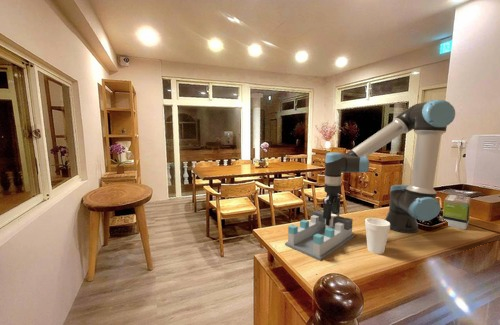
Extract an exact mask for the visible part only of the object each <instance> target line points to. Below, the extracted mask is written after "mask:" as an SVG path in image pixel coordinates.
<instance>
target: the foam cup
mask: <svg viewBox="0 0 500 325" xmlns="http://www.w3.org/2000/svg"><path fill="white" fill-rule="evenodd" d="M364 221H365V222H364V226H365V234H366V235H365V236H366V245H367V246H366V247H367V251H368V252H370V253H372V254H375V255H383V254H385V249H386V246H387V243H388V242H387V241H388V237H389V232H390V230H391V229H390V222H388V221H386V220H385V219H383V218H378V217H367V218H365V219H364Z"/></svg>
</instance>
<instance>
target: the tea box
mask: <svg viewBox="0 0 500 325" xmlns="http://www.w3.org/2000/svg"><path fill="white" fill-rule="evenodd" d="M471 201H472V198H471V197H470V196H462V195H455V194H454V195H453V194H448V195H447V196H446V197H445V198H444V199H443V210H442V212H443V213H442V220H443V219H444V220H446V221H447V222H448V227H450V226H451V227H452V228H456V229H460V230H465V231H466V230H467V227H468V225H469V222H470V214H471V203H472V202H471Z"/></svg>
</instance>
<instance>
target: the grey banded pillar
mask: <svg viewBox="0 0 500 325" xmlns="http://www.w3.org/2000/svg"><path fill="white" fill-rule="evenodd" d="M322 211H323V210H321V211H320V210H318V209H316V210H314V211H312V216H313V215H316V216H319V221H320V222H323V223H325V224H326V219H325V218H323V212H322ZM348 218H349V217H348ZM348 218H346V217H344V216H340V215H339V216H338V215H336V214H332V213H331V219H332V224H331V226H335V223H337V222H339V223H343V224H344V229H345V230H349V229H351V228H352V229H353V224H352V220H351V219H352V218H351V219H348Z"/></svg>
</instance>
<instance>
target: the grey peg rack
mask: <svg viewBox="0 0 500 325" xmlns="http://www.w3.org/2000/svg"><path fill="white" fill-rule="evenodd" d="M321 211H322V212H323V210H321ZM345 218H348V219H351V220H352V225H353V224H354V223H353V222H354V219H353V218H350V217H347V216H346V217H345ZM325 228H326V224H325V223H323V222H320V221H319V216H316V215H313V214H312V215H311V216H310V220H306V219H301V220H300V221H299V227H298V225H295V224H290V225H289V226H288V227H287V241H286V242H284V245H285V246H286V247H288V248H291V249H292V250H295V251H297V252H300V253H302V254H305V255H306V256H308V257H311V258H313V259H316V260H318V261H319V262H321V261H322V260H323V259H325V258H326V257H328V256H329V255H331V254H332V253H333V252H335V251H337V250H338V249H339V248H340V247H342V246H343V245H344V244H346V243H348V242H349V241H351V240H352V239H354V238H355V236H356V234H355V233H353V227H352V228H351V229H349V230H345V229H344V224H343V223H339V222H337V223H335V229H333V228H329V227H328V228H326V229H325Z"/></svg>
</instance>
